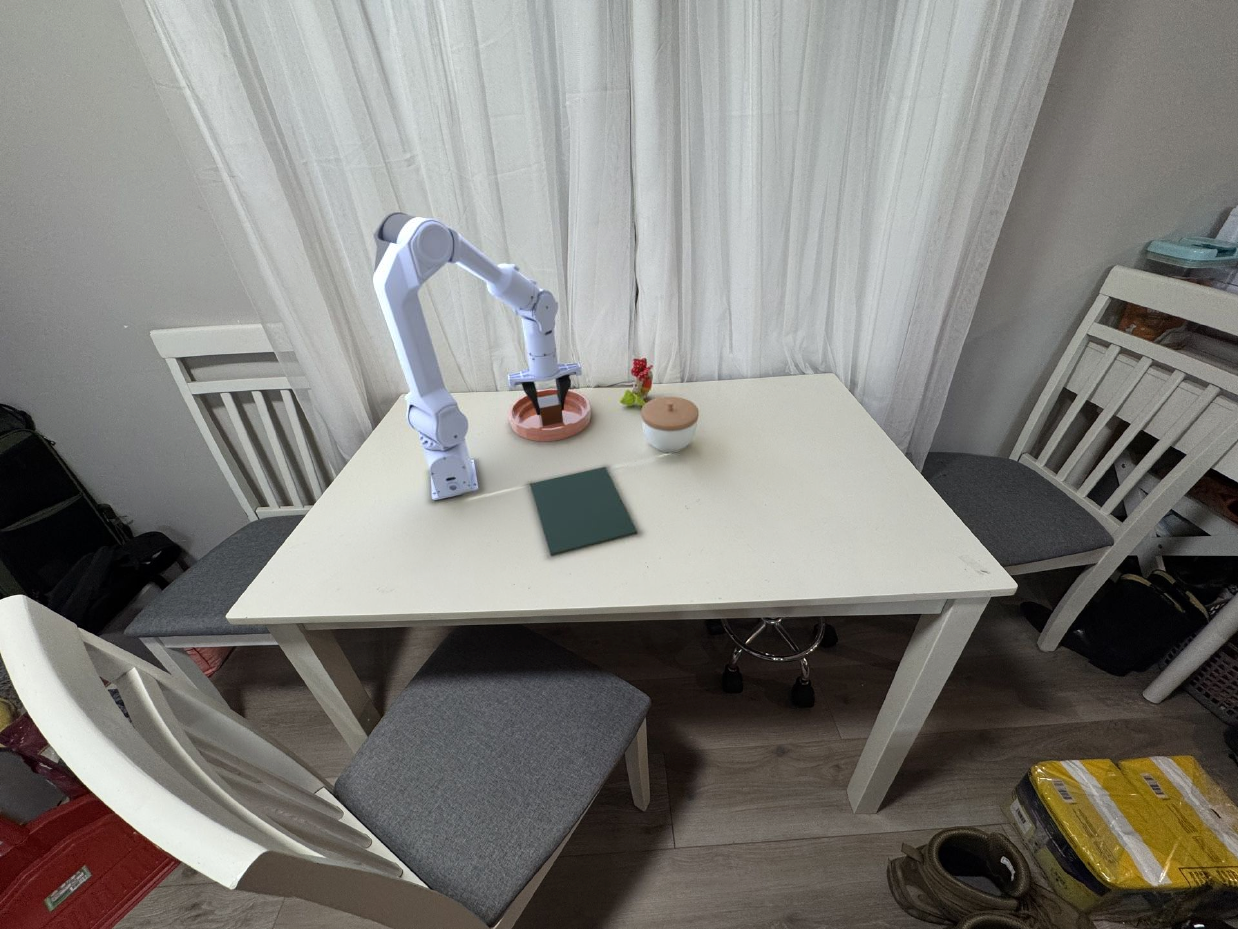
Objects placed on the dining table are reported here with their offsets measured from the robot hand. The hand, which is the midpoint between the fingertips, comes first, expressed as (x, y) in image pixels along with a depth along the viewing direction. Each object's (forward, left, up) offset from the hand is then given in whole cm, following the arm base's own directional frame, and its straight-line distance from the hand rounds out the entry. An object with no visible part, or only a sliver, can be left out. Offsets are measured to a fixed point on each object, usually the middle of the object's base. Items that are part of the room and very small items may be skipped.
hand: (549, 410), depth 108 cm
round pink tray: (0, 0, -3) cm, 3 cm away
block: (0, 0, -2) cm, 2 cm away
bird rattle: (0, -20, -3) cm, 20 cm away
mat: (-29, +1, -3) cm, 29 cm away
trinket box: (-17, -20, -3) cm, 26 cm away
